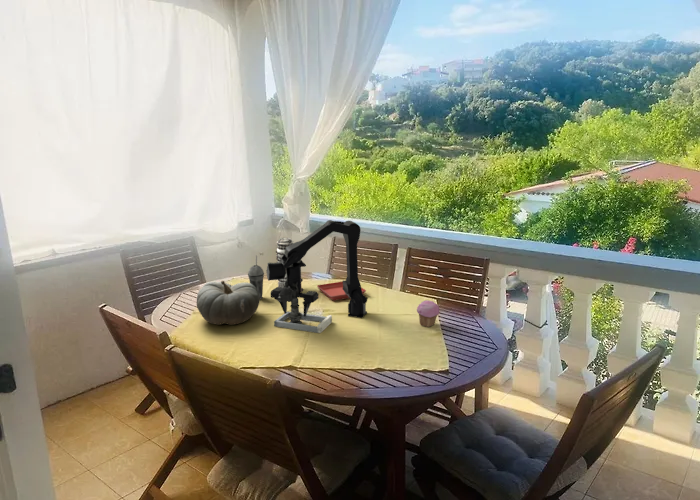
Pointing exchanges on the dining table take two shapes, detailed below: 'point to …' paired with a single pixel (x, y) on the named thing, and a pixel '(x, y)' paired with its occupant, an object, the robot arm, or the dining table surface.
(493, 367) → the dining table surface
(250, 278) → the beverage cup
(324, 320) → the frame
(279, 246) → the decorative candle
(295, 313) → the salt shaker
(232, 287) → the gourd
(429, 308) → the cupcake
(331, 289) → the plant saucer
